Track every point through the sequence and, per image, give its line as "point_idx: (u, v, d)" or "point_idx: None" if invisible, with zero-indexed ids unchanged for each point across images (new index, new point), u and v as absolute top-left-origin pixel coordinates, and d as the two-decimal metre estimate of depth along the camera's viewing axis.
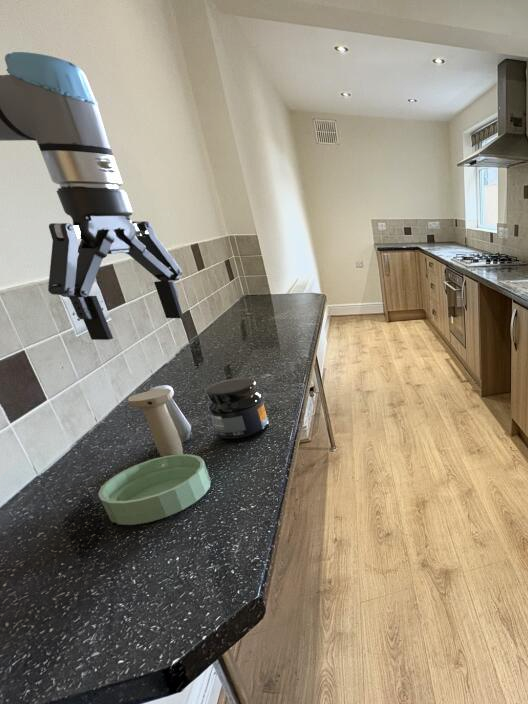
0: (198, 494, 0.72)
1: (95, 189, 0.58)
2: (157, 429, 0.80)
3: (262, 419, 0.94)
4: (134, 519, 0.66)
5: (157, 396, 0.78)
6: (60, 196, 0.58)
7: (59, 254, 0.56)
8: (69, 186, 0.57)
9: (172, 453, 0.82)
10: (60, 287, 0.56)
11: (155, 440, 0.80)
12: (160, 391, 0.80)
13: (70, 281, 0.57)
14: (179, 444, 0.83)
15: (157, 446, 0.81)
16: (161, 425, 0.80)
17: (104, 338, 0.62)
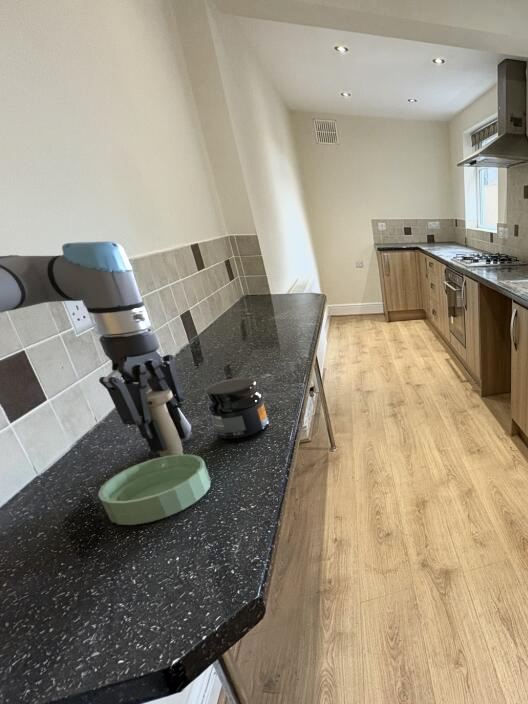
0: (198, 494, 0.72)
1: (130, 337, 0.72)
2: None
3: (262, 419, 0.94)
4: (134, 519, 0.66)
5: (157, 396, 0.78)
6: (102, 344, 0.71)
7: (118, 399, 0.73)
8: (110, 337, 0.71)
9: (172, 453, 0.82)
10: (131, 421, 0.75)
11: None
12: (160, 391, 0.80)
13: (135, 416, 0.75)
14: (179, 444, 0.83)
15: None
16: (161, 425, 0.80)
17: (160, 450, 0.80)
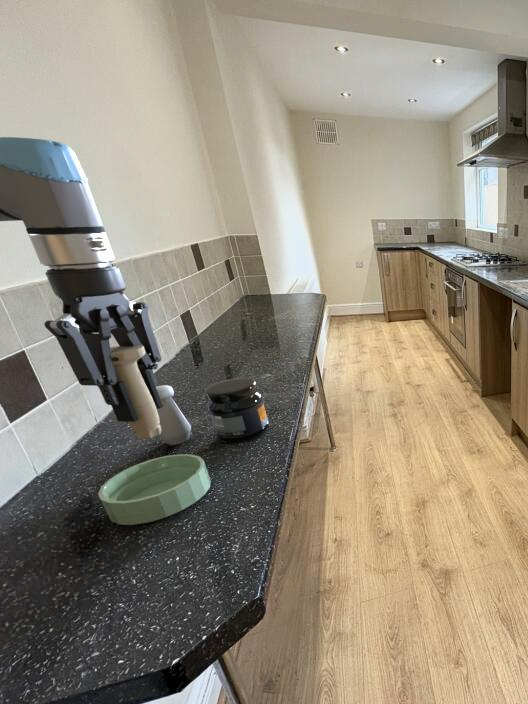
0: (198, 494, 0.72)
1: (86, 270, 0.56)
2: None
3: (262, 419, 0.94)
4: (134, 519, 0.66)
5: (125, 351, 0.62)
6: (49, 279, 0.55)
7: (71, 351, 0.56)
8: (58, 269, 0.55)
9: (146, 425, 0.66)
10: (90, 381, 0.58)
11: None
12: (129, 346, 0.64)
13: (95, 374, 0.58)
14: (155, 414, 0.67)
15: None
16: (131, 388, 0.64)
17: (130, 420, 0.64)
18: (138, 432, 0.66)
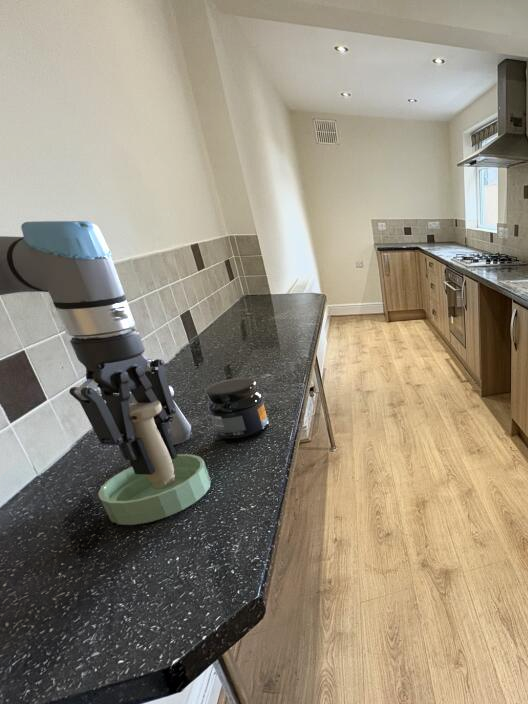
0: (198, 494, 0.72)
1: (108, 339, 0.59)
2: None
3: (262, 419, 0.94)
4: (134, 519, 0.66)
5: (143, 409, 0.65)
6: (74, 347, 0.58)
7: (93, 414, 0.59)
8: (83, 338, 0.58)
9: (161, 476, 0.69)
10: (110, 441, 0.62)
11: None
12: (147, 403, 0.67)
13: (115, 434, 0.61)
14: (170, 465, 0.70)
15: None
16: (148, 443, 0.67)
17: (147, 473, 0.67)
18: (154, 483, 0.69)
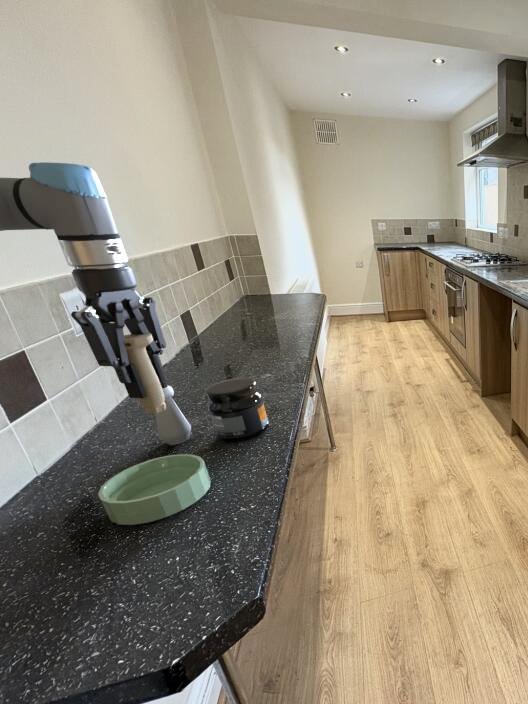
0: (198, 494, 0.72)
1: (105, 270, 0.67)
2: None
3: (262, 419, 0.94)
4: (134, 519, 0.66)
5: (136, 338, 0.74)
6: (75, 277, 0.67)
7: (92, 336, 0.68)
8: (82, 269, 0.66)
9: (153, 402, 0.78)
10: (107, 362, 0.70)
11: None
12: None
13: (111, 356, 0.70)
14: (161, 393, 0.79)
15: None
16: (141, 370, 0.75)
17: (140, 397, 0.76)
18: (146, 408, 0.78)
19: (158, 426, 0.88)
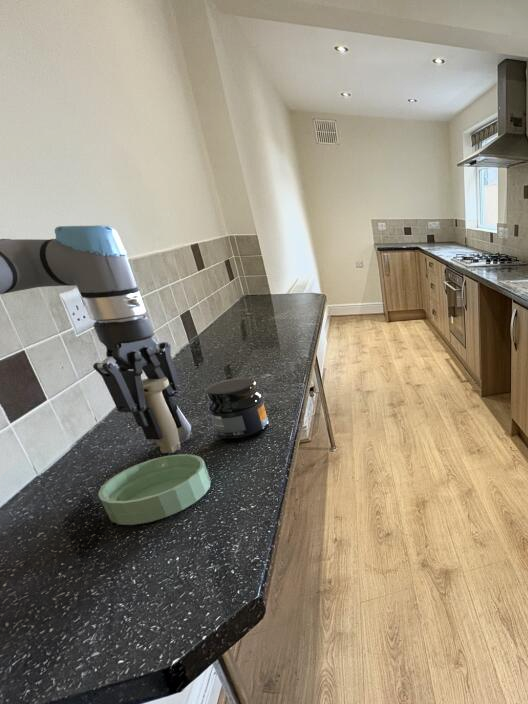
0: (198, 494, 0.72)
1: (125, 323, 0.71)
2: None
3: (262, 419, 0.94)
4: (134, 519, 0.66)
5: (153, 383, 0.77)
6: (96, 330, 0.70)
7: (112, 385, 0.72)
8: (104, 322, 0.70)
9: (168, 442, 0.81)
10: (126, 409, 0.74)
11: None
12: (156, 379, 0.79)
13: (130, 403, 0.74)
14: (176, 433, 0.82)
15: None
16: (158, 413, 0.79)
17: (156, 438, 0.79)
18: (162, 447, 0.82)
19: None
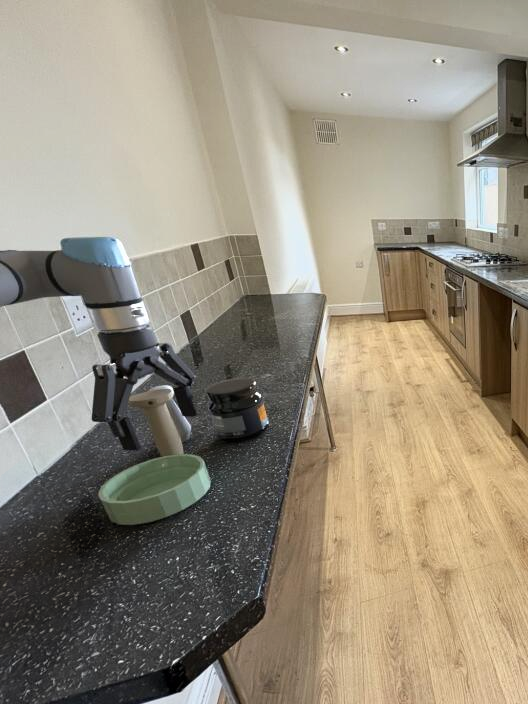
0: (198, 494, 0.72)
1: (129, 333, 0.72)
2: (158, 429, 0.80)
3: (262, 419, 0.94)
4: (134, 519, 0.66)
5: (158, 396, 0.78)
6: (100, 340, 0.71)
7: (100, 389, 0.70)
8: (108, 333, 0.71)
9: (172, 453, 0.82)
10: (101, 417, 0.69)
11: (155, 440, 0.80)
12: (160, 391, 0.80)
13: (108, 411, 0.70)
14: (179, 444, 0.83)
15: (157, 446, 0.81)
16: (162, 425, 0.80)
17: (134, 449, 0.75)
18: None
19: None
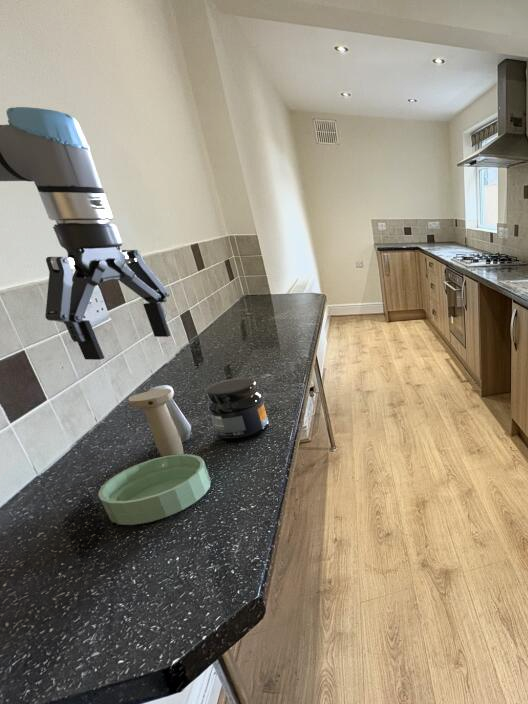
0: (198, 494, 0.72)
1: (88, 225, 0.65)
2: (158, 429, 0.80)
3: (262, 419, 0.94)
4: (134, 519, 0.66)
5: (158, 396, 0.78)
6: (56, 231, 0.64)
7: (55, 284, 0.63)
8: (64, 223, 0.64)
9: (172, 453, 0.82)
10: (56, 314, 0.63)
11: (155, 440, 0.80)
12: (160, 391, 0.80)
13: (65, 309, 0.63)
14: (179, 444, 0.83)
15: (157, 446, 0.81)
16: (162, 425, 0.80)
17: (96, 358, 0.68)
18: None
19: None
